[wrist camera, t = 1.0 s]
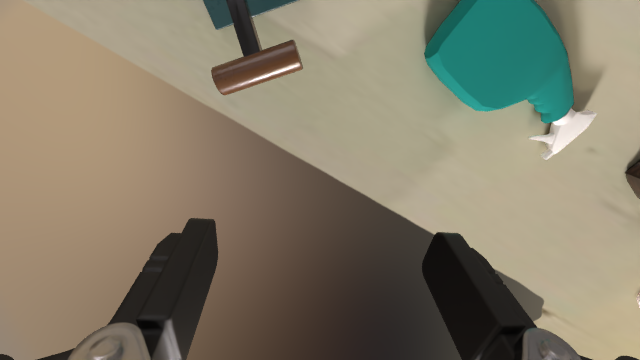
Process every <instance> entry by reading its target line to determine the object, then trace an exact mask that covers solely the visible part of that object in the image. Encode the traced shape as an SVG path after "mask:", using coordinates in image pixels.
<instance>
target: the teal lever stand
mask: <svg viewBox="0 0 640 360" xmlns="http://www.w3.org/2000/svg"><path fill="white" fill-rule="evenodd" d="M203 1H204V4H205V6H206V8H207V10H208V13H209V15H210V17H211V19H212V22H213V24H214V26H215V28H216V30H218V29H221V28H224V27H227V26H230V25H233V21H232V18H231V15H230V12H229V8H228V5H227V2H226V0H203ZM296 1H299V0H247V2H248V5H249V9H250V12H251V15H252V17H255V16H257V15H260V14H263V13H266V12H268V11H271V10H274V9H277V8H280V7H282V6H285V5H288V4H291V3H293V2H296Z"/></svg>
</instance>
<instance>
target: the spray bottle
mask: <svg viewBox="0 0 640 360" xmlns="http://www.w3.org/2000/svg"><path fill="white" fill-rule="evenodd" d="M424 55H425V59H426V62H427V64H428V66H429V67H430V68H431V69H432V71H433V72H434V73H435V75H436V76H437V77H438V78H439V80H440V81H441V82H442V83H443V84H444V85H445V86H446V87H448V88H449V89H450V90H451V91H452V92H453V93H454V94H455V95H456V96H457V97H458V98H459V99H460V100H461V101H462V102H463V103H465V104H466V105H468V106H470V107H471V108H473V109H474V110H476V111H492V110H497V109H503V108H505V107H508V106H510V105H513V104H515V103H518V102H520V101H523V100H525V99H527V100H528V102H529V103H531V104H534V107H535V110H536V111H537V112H540V113H541V121H542V122H544V123H550V122H552V123H551V128H550V132H549V134H547V135H535V136H529V137H528V139H531V140H539V141H543V142H546V144H545V145H546V147H547V149H546V150H545V151H544V152H543V153H542V154H541V155H540V156H541V157H542V158H544V159H545V160H547V159H549V158H550V157H551V156H552V155H554V154H557V153H558V152H559V151H560V150H562V149H563V148H564V147H565V146H566V145H567V144H569V143H570V142H571V141H572V140H573V139H574V138H576V137H577V136H578V135H579V134H580V133H582V132H583V131H584V130H585V129H586V128H587V127H588V126H589V125H590V123H591V122H592V120H593V119H594V117H595V116H596V115H597V113H595V112H592V111H590V110H586V111H582V112H575V111H574V110H573V109H572V108H571V107H572V106H573V104H574V97H573V86H572V78H571V71H570V67H569V62H568V55H567V51H566V49H565V47H564V45H563V42H562V40H561V38H560V36H559V34H558V32H557V31H556V29H555V27H554V26H553V24H552V23H551V21H550V19H549V18H548V16H547V15H546V13H545V12H544V11H543V9H542V8H541V7H540V6H539V5H538V4H537V3H536V2H535V1H534V0H461V1H460V2H459V3H458V4H457V6H456V7H455V8H454V9H453V11H452V12H451V13H450V14H449V16H448V17H447V18H446V19H445V20H444V22H443V23H442V24H441V25H440V27H439V28H438V30H437V31H436V33H435V34H434V36H433V37H432V39H431V40H430V42H429V43H428V45H427V46H426V49H425V53H424Z"/></svg>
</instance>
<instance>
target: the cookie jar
mask: <svg viewBox="0 0 640 360" xmlns="http://www.w3.org/2000/svg"><path fill="white" fill-rule="evenodd" d="M637 301H638V304H639V308H640V293H639V294H638V295H637Z"/></svg>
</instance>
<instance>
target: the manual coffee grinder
mask: <svg viewBox="0 0 640 360" xmlns="http://www.w3.org/2000/svg"><path fill="white" fill-rule="evenodd" d="M625 174H626V178H627V181H628V183H629V185H630V186H631V188H632V190H633V191H634V193H635V194H636V196H637V197H638V198H639V199H640V161H639V162H638V163H636V164H635V165H634V166H633V167H631V168H630V169H629V170H628V171H627V172H625Z"/></svg>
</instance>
